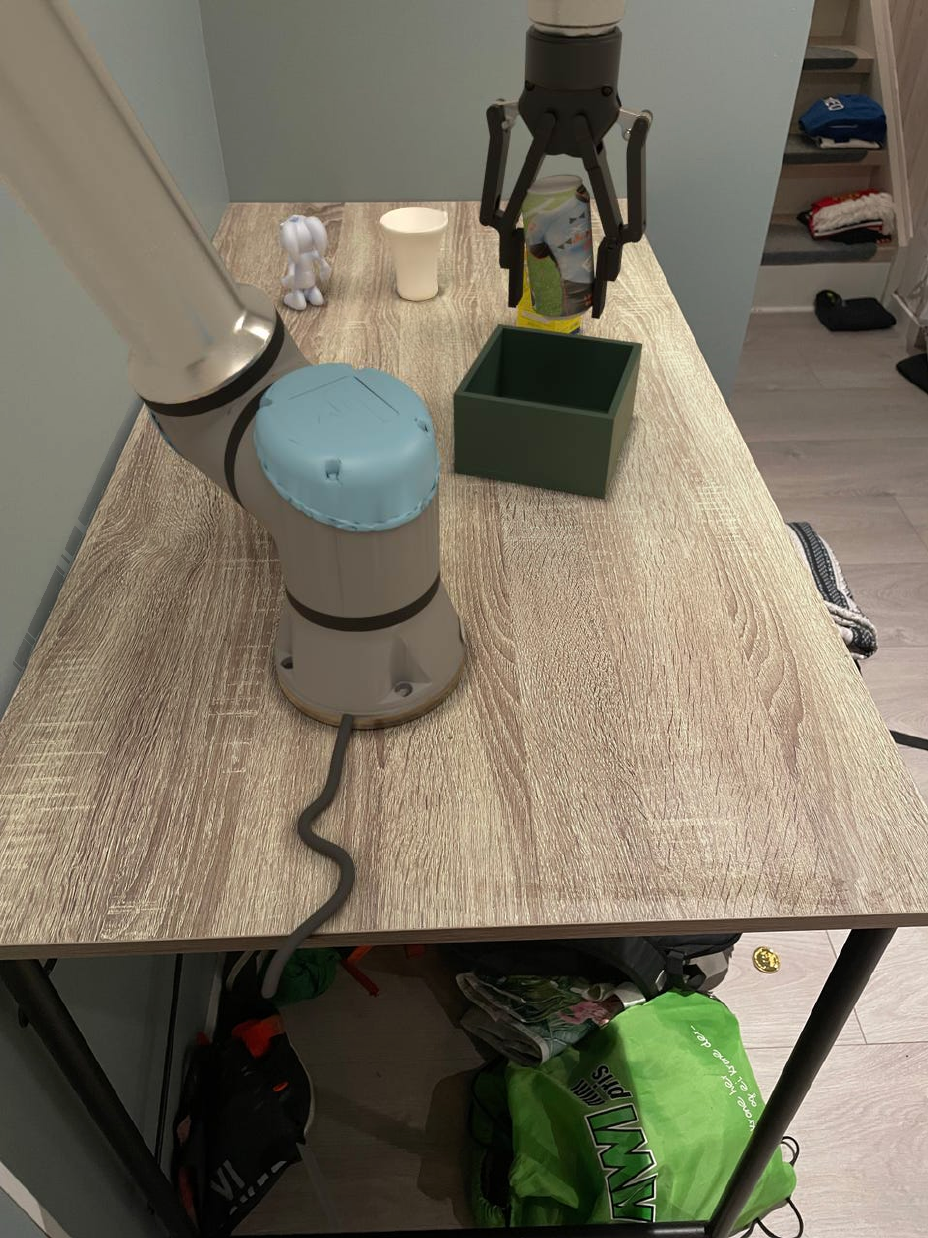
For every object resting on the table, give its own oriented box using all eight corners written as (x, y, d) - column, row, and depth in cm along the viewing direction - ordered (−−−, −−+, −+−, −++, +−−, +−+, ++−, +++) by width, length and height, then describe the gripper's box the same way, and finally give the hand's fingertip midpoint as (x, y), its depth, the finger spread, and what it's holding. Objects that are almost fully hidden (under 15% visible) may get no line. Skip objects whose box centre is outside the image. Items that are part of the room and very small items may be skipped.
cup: (461, 298, 123) (460, 222, 116) (396, 310, 121) (391, 233, 114) (438, 273, 129) (436, 200, 122) (375, 284, 127) (370, 209, 120)
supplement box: (542, 318, 119) (547, 233, 111) (580, 331, 116) (588, 245, 108) (514, 335, 115) (517, 248, 108) (553, 349, 113) (559, 261, 105)
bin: (604, 499, 90) (614, 419, 84) (454, 472, 93) (453, 393, 87) (632, 419, 101) (642, 343, 95) (496, 397, 104) (498, 323, 98)
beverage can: (591, 330, 84) (603, 194, 76) (512, 324, 85) (516, 189, 77) (597, 301, 89) (610, 170, 80) (523, 295, 90) (527, 165, 82)
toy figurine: (319, 289, 126) (308, 198, 117) (340, 306, 122) (331, 213, 113) (273, 301, 123) (259, 209, 115) (293, 318, 119) (280, 224, 111)
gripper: (712, 21, 71) (669, 303, 87) (465, 7, 76) (466, 278, 91) (700, 42, 66) (656, 338, 82) (435, 26, 71) (442, 310, 86)
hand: (556, 306), depth 87 cm, fingers closed on beverage can, 7 cm apart
